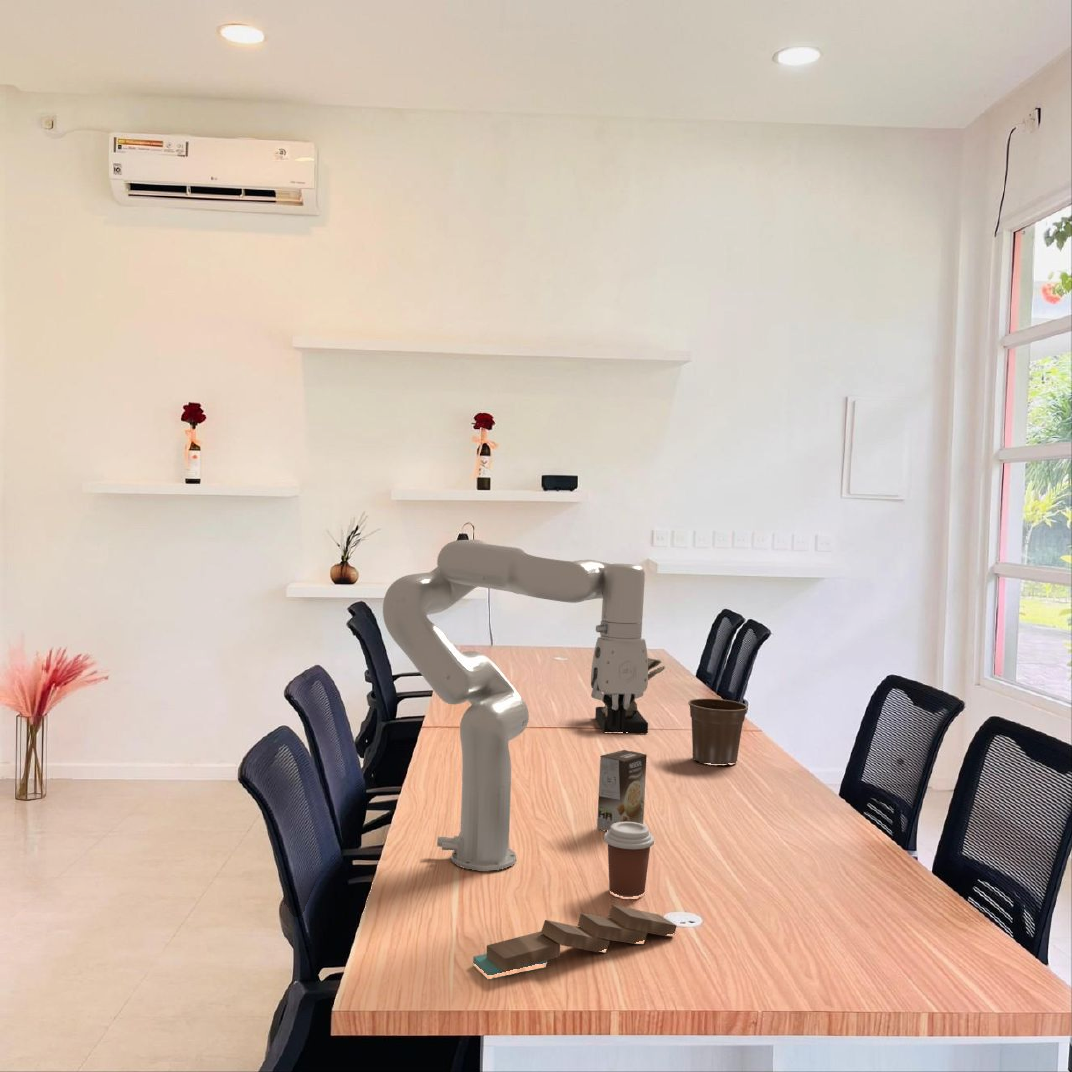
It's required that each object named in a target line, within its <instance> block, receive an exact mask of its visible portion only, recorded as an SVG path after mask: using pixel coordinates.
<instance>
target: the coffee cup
mask: <svg viewBox="0 0 1072 1072" xmlns="http://www.w3.org/2000/svg"><path fill="white" fill-rule="evenodd" d="M603 841H604V842H605V843H606V844H607V860H608V881H609V882H608V883H609V890H610V891H611V892H613V893H614V894H617V895H619V896H623V897H633V896H639V895H641V894H643V893H644V892H645V891H646V884H647V883H646V882H647V874H648V866H649V860H650V858H649V857H650V853H651V852H650V851H651V847H652V846H653V845H655V837H654V835H652V834H651V833H650V828H649V827H648V826H647V825H645V824H644V823H643V824H640V823H636V822H617V823H614V824H612V825H611V826H610V830H609V831H608V832H606V831H605V833H604V839H603ZM645 893H646V892H645Z"/></svg>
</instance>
